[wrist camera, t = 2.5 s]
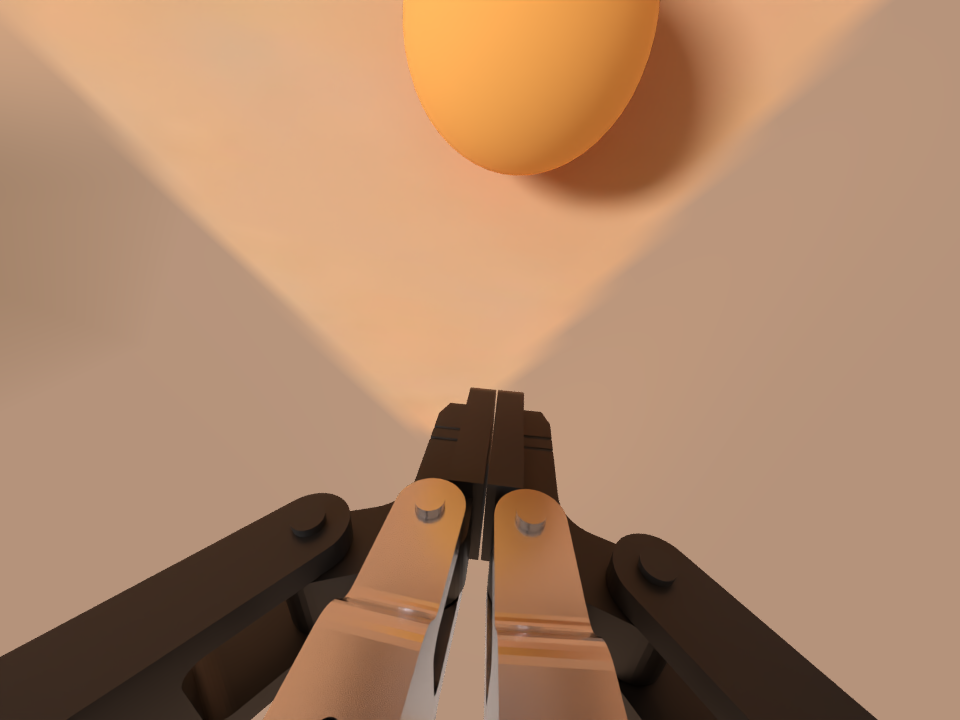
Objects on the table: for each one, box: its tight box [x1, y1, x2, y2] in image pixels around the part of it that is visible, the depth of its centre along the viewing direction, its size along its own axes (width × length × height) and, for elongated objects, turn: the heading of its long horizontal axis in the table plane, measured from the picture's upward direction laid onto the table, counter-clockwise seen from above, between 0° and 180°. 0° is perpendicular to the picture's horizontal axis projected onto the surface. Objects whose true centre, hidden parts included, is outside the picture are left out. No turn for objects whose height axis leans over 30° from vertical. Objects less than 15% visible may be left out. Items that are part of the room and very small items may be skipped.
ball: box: [403, 0, 660, 175], centre depth 9 cm, size 6×6×6 cm
